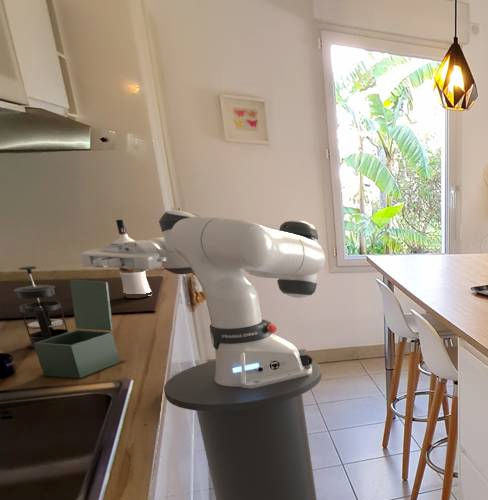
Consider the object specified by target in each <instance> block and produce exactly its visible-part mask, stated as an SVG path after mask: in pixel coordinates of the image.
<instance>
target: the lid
mask: <svg viewBox="0 0 488 500" xmlns="http://www.w3.org/2000/svg"><path fill="white" fill-rule="evenodd" d="M69 283H70V290H71V299H72V308H73V315H74V324H75V329H78V330H93V331H108V332H112V331H113V330H114V329H113V328H114V326H113V319H112V318H113V317H112V309H111V300H110V290H109V281H100V280H99V281H98V280H81V279H70V280H69Z"/></svg>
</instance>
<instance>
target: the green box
mask: <svg viewBox="0 0 488 500" xmlns="http://www.w3.org/2000/svg"><path fill="white" fill-rule="evenodd" d="M34 347H35V348H34V350H35V352H36V356H37V358H38V361H39V365H40V368H41V371H42V375H43V376H46V377H47V376H49V377H60V378H61V377H62V378H75V379H82V378H84V377H87V376H89V375H92V374H95V373H96V372H99V371H101V370H105V369H107V368H109V367H112V366H114V365H117V364H119V363H121V360H120V355H119V352H118V348H117V345H116V341H115V338H114V334H113V332H112V331H105V330H90V329H76V330H72V331H68V333H65V334H62V335H59V336H55V337H52V338H49V339H46V340H42V341H39V342H36V343H34Z"/></svg>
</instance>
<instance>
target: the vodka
mask: <svg viewBox="0 0 488 500" xmlns="http://www.w3.org/2000/svg"><path fill="white" fill-rule="evenodd" d="M115 224H116V227H117V232H118V235H119V238H117V239H116V240H115V241H113V243H112V244H122V243H126V242H132V241H136V240H134V239H133V238H131V237H129V235H128V232H127V227H126V223H125V220H124V219H115ZM118 269H119V275H120V279H121V284H122V294H123V293H126V294H146V293H150V292H152V289H151V288H150V285H149V282H148V279H147V275H146V274H147V273H146V271H144V272H134V271H131V270H127V269H124V268H118ZM152 295H153V293H152V294H151V295H148V296H150V297H151V296H152Z"/></svg>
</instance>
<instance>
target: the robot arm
mask: <svg viewBox="0 0 488 500" xmlns="http://www.w3.org/2000/svg"><path fill="white" fill-rule="evenodd" d="M158 224H159V227H160V230H161V233H162V236H160V237H151V238H149V239H138V240H135V241H132V242H126V243H122V244H113V243H110V244H106V245H105V247H104V246H103V247H98V248H93V249H90V250H85V251H82V252H80V260H81V262H82V265H83V266H84V267H94V268H102V269H103V268H104V269H106V268H116V269H119V268H124V269H127V270H131V271H134V272H144V271H145V272H148V271H152V270H155V269H157V268H163V269H164V270H166V271H167V272H170V273H172V274H174V275H190V274H194V275H195V277H196V279H197V282H198V283H199V285H200V288H201V289H202V292H203V295H204V297H205V302H206V307H207V311H208V315H209V320H210V325H209V334H210V341H211V344H212V346H213V348H214V353H215V360H216V372H215V379H214V381H215V382H216V383H217V384H219V385H223V386H232V387H243V388H248V389H252V388H257V387H261V386H265V385H269V384H273V383H278V382H282V381H286V380H290V379H294V378H299V377H303V376H307V375H309V374H310V373H311V372H312V367H311V363H312V361H314V360H313V357H311V356H310V355H308V352H307V349H306V348H301V349H298V348H297V347H296V345H294V344H293V343H292V342H291V341H288V340H286V339H285V338H283V337H280V336H278V335H277V334H275V333H276V331H277V329H278V328H277V326H276V325H275V324H274V323H272V322H271V321H269V320H267V319H264V318H263V316H262V312H261V305H260V300H259V293H258V290H257V288H256V287H255V285H253V284H252V283H251V282H250V281H249V280H247V278H246V277H245V275H244V274H243V272H242V270H244V271H245V272H246V273H248V274H249V275H251V276H253V277H256V278H263V279H264V278H265V279H277V281H276V282H277V286H278V289H279V290H280V292H281V293H282V294H285V295H287V296H289V297H291V298H297V299H302V298H307V297H309V296H312V295H314V293H315V292H316V289H317V285H318V282H317V280H318V279H317V277H318V273H319V272H321V270H322V269H323V268H324V266H325V263H326V254H325V252H324V249H323V248H322V247H321V245H319V243H318V240H319V235H318V230H317V229H316V228H315V225H313V224H310V223H309V222H307V221H304V220H300V219H291V220H288V221H284V222H283V223H282V224H280V226H279V228H278V229H275V228H269V227H266V226H264V225H261V224H259V223H255V222H253V221H249V220H245V219H239V218H226V217H216V216H206V215H205V216H203V215H197V214H195V213H192V212H188V211H184V210H178V209H177V210H175V209H174V210H168V211H165V212H164V213H163V214H162V216H161V217H160V218H159V221H158ZM308 360H309V361H308Z"/></svg>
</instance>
